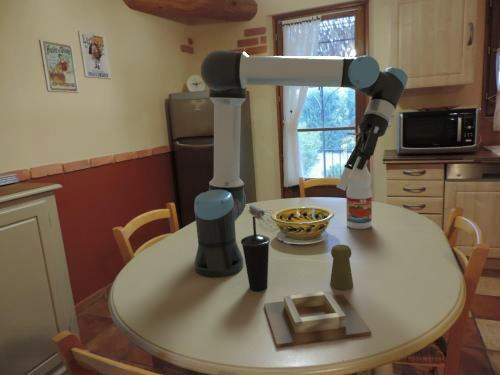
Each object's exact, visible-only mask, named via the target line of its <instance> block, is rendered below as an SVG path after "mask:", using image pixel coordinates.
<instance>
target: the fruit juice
mask: <svg viewBox="0 0 500 375" xmlns="http://www.w3.org/2000/svg"><path fill="white" fill-rule="evenodd" d="M372 180H373V179H372V174H371V173H370V171H369V167H368V166H367V165H366V167H365V169H364V171H363V174H362V176H361V178H360V180H359V183H356V182H354V181H352V180H350V181H349V183H348V185H347V187H346V193H345V194H346V196H345V197H346V225H347V227H349V228H351V229H355V230H365V229H368V228H371V226H372V221H373V219H372V218H373V216H372V215H373V214H372V212H373V210H372V208H373V207H372V206H373V198H372V196H373V192H372V186H371V183H372Z"/></svg>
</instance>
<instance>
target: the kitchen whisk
mask: <svg viewBox="0 0 500 375" xmlns="http://www.w3.org/2000/svg"><path fill="white" fill-rule="evenodd" d="M248 208H249V210H250V211H251V212H253V213H254V214H257V215H258V216H259V217H260V218H261V221H262V222H263V223H264V224H268V225H271V224H273V225H274V226H275V227H276V226H277V224H276V222H275V221H273V222H270V221H272V219H270V218H269V214H270V212H273V210H272V209H271V210H270V209H269V210H263V209H261V208H259V207H257V206H256V205H254V204H251V205H249V207H248ZM269 211H270V212H269ZM265 213H266V214H265ZM275 213H276V212H273V214H275ZM265 215H266V216H267V217H266V216H265ZM275 215H276V214H275ZM264 218H265V219H266V220H267V221H268V222H269V223H266V221H265V219H264ZM275 224H276V225H275ZM273 225H272V226H270V228H272V227H273Z"/></svg>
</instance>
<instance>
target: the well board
mask: <svg viewBox="0 0 500 375" xmlns="http://www.w3.org/2000/svg"><path fill="white" fill-rule="evenodd" d="M263 306H264V309H265V312H266V316H267V320H268V323H269V327H270V329H271V330H270V331H271V333H272V335H273V339H274V342H275V343H274V344H275V345H276V348H277V349H279V348H284V347H293V346H301V345H306V344H313V343H314V344H315V343H322V342H327V341H328V342H330V341H336V340H343V339H349V338H357V337H358V338H359V337H365V336H371V335H372V331H371V329H370V328H369V326H368V325H367V323H365V321H364V320H363V318H362V317H361V316H360V314H359V313H358V312H357V310H355V308H354V307H353V305H352V304H351V303H350V302H349V300H348V299H347V297H346V296H345V294H344V293H339V294H331V292H330V290H325V291H317V292H310V293H309V292H308V293H301V294H300V293H299V294H292V295H284V296H283V301H281V300H280V301H274V302H265V303H263Z"/></svg>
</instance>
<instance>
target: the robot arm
mask: <svg viewBox="0 0 500 375" xmlns="http://www.w3.org/2000/svg"><path fill="white" fill-rule="evenodd" d="M200 77H201V79H202V81H203V84H204V85H206V87H208V89H209V90H208V91H209V93H208V94H209V100H210V101H211V102H212V103H213V178H212V179H211V180H210V181H209V183H208V190H207V191H205V192H201V193H200V194H198V195H197V196H196V197H195V199H194V207H193V208H194V209H193V212H194V215H195V217H194V218H195V225H196V236H197V244H198V245H197V246H198V247H197V251H196V255H195V259H194V271H195V272H196V274H198V276H201V277H205V278H206V277H207V278H223V277H228V276H232V275H235V274H237V273H238V272H240V271H241V270H242V269H243V267H244V258H243V255H242V251H241V250H240V248H239V245H238V242H237V238H236V236H237V233H236V221H237V219H238V218H239V217H240V216H241V215H242V214H243V212H244V211H245V207H246V205H247V203H246V202H247V198H246V193H245V192H244V187H245V183H244V181H243V180H242V179H241V178H240V169H241V165H240V164H241V163H240V162H241V160H240V159H241V121H242V120H241V119H242V115H241V114H242V104H243V103H244V102H245V101H246V100H247V87H248V86H281V87H284V86H288V87H321V88H324V87H325V88H349V89H352V90H353V91H356V92H359V93H361V94H363V95H366V96H368V97H370V100H369V102H368V104H367V106H366V109H365V110H364V115H363V116H362V118H361V120H360V121H359V125H358V128H359V130H360V131H361V132H362V134H361V135H360V136H359V138H358V139H357V142H356V143H355V145H354V148H353V150H352V151H351V153H350V155H349V157H348V159H347V161H346V163H345V164H344V167H343V168H344V169H343V172H342V174H341V175H340V177H339V180H338V182H337V185H336V188H338V189H340V190H342V191H347V188H348V183H349V181H350V180H352V181H354V182H356V183H359V180H360V178H361V176H362V174H363V171H364V169H365V167H366V165H367V164H368V162H369V160H370V159H371V157H372V156H374V154H375V150H376V146H377V143H378V140H379V137H381V138H382V137H383V136H384V135H386V134H385V133H386V131H387V130H388V127H389V124H390V123H391V120H392V119H394V118H395V116H396V115H394V113H395V111H396V109H397V107H398V105H399V103H400V100H401V99H402V95H403V93H404V92H405V90H406V87H407V84H408V81H409V78H408V77H409V76H408V74H407V73H406V72H405V70H403V69H402V68H399V67H396V68H395V67H391V66H390V67H387V68H385V69H384V70H383V71H381V68H380V64H379V62H378V61H377V59H375V58H374V57H372V56H371V55H360V56H357V57H354V56H353V57H352V56H350V57H349V56H348V57H346V56H345V57H343V56H291V55H290V56H289V55H288V56H287V55H284V56H282V55H278V56H277V55H275V56H273V55H272V56H271V55H270V56H269V55H248V54H247V53H246V52H245V51H232V50H226V49H225V50H224V49H216V50H213V51H210V52H209V53H208V54H206V56H205V57H204V58H203V60H202V62H201V65H200Z"/></svg>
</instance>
